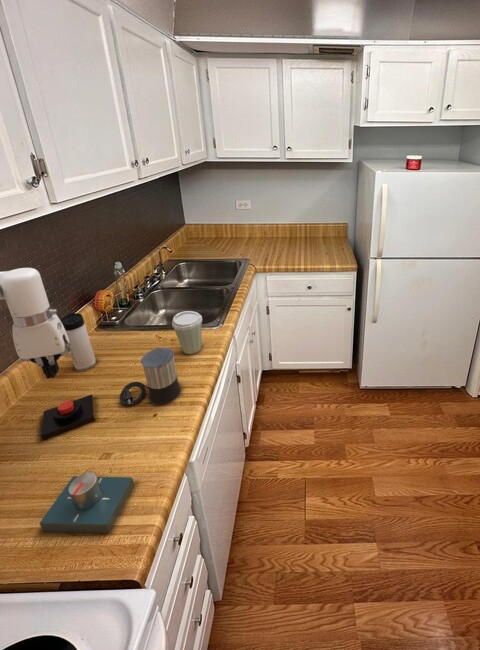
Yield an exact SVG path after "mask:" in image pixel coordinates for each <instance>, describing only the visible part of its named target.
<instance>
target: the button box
mask: <svg viewBox="0 0 480 650" xmlns="http://www.w3.org/2000/svg"><path fill="white" fill-rule="evenodd" d="M70 401H73V404H74V406H75V407H74V409H73V410H72V411H71V412H69V413H67V414H64V415H61V414H60V413H59V411H58V406H55V407H52V408H49V409H46V410H43V414H42V422H41V430H40V431H41V432H40V437H41V440H42V441H47V440H50V439H52V438H54V437H57V436H60V435H63V434H64V433H68V432H70V431H72V430H75V429H78V428H81V427H83V426H85V425H88V424H90V423H93V422H96V412H95V411H96V409H95V399H94V395H93V394H90V395H86V396H84V397H80V398H77V399H71V400H70Z"/></svg>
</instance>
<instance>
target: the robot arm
mask: <svg viewBox="0 0 480 650" xmlns="http://www.w3.org/2000/svg"><path fill="white" fill-rule="evenodd" d="M41 276H42V275H41V273H40V271H38V269H36V268H33V267H21V268H20V267H19V268H15V269H12V270H11V269H10V270H5V271H0V301H1V300H5V302H6V305H7V308H8V310H9V313H10V316H11V318H12V321H13V324H12V325H11V327H12V328H11V329H12V330H11V331H12V339H13V340H12V341H13V344H14V348H15V351H16V354H17V356H18V358H19V359H20V362H22V363H23V362H24V363H27V362H31V363H34V364H36V365H37V367H39V368H41V370H42V374H43V375H44V376H45V377H46V379H54V378H55V377H56V376H57V374H58V373H59V371H60V367H59V364H58V360H59V359H60V358H62V357H64V356H67V355H69V354H70V351H71V350H70V348H69V347H68V344H69V338H68V335H67V333H66V331H65V328H64V326H63V324H62V322H61V319H60V317H59V316H58V314H59V310H58V308H52V305H50V302H49V299H48V296H47V292H46V290H45V286H44V283H43V279H42V277H41Z"/></svg>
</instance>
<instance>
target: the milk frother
mask: <svg viewBox="0 0 480 650" xmlns="http://www.w3.org/2000/svg"><path fill="white" fill-rule="evenodd" d="M174 356H175V352H174V351H173V350H172V349H171V348H169V347H157V348H156V347H155V348H153V349H151V350H149V351H148V352H146V353H145V354H143V356H142V357H141V359H140V364H141V366H142V368H143V371H144V375H145V380H146V383H147V385H146V384H144V383H142V382H140V381H132V382H129V383H128V384H126V385H125V386H124V387H123V388H122V389H121V391H120V394H119V402H120V403H121V405H123V406H127V407H130V406H133V405H137V404H139V403H140V402H141V401H142V400H143V399H144V397H145V396H146V390H148V394H149V402H150V403H151V404H153V405H156V406H163V405H167V404H169V403H172V402H173V401H175V400H176V399H177V398H178V397H179V396H180V394H181V392H182V389H181V386H180V383H179V378H178V374H177V367H176V362H175V358H174ZM135 387H137V388H139V389H140V390H141V392H140V394H139V396H138V397H137V398H136V399H134V400H133V396H132V395H131V392H130V389H131V388H135Z"/></svg>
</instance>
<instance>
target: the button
mask: <svg viewBox="0 0 480 650" xmlns="http://www.w3.org/2000/svg"><path fill="white" fill-rule="evenodd" d="M57 407H58V411H59V413H60V414H61V415H64V414H67V413H69V412H71V411H72V410H73V409H74V407H75V406H74V404H73V401H71V400H64V401H63V402H61V403H60V404H59V405H58V406H57Z"/></svg>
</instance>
